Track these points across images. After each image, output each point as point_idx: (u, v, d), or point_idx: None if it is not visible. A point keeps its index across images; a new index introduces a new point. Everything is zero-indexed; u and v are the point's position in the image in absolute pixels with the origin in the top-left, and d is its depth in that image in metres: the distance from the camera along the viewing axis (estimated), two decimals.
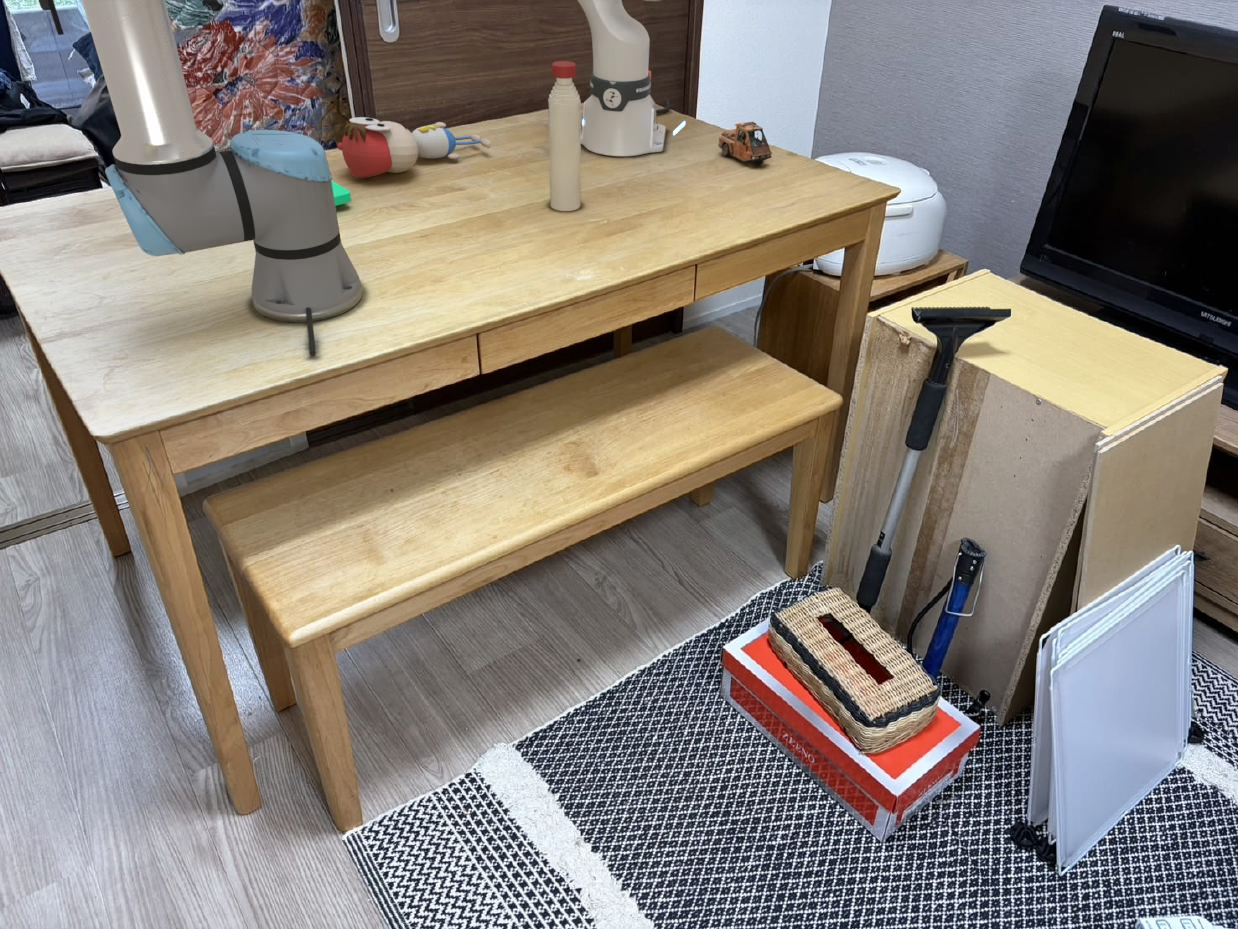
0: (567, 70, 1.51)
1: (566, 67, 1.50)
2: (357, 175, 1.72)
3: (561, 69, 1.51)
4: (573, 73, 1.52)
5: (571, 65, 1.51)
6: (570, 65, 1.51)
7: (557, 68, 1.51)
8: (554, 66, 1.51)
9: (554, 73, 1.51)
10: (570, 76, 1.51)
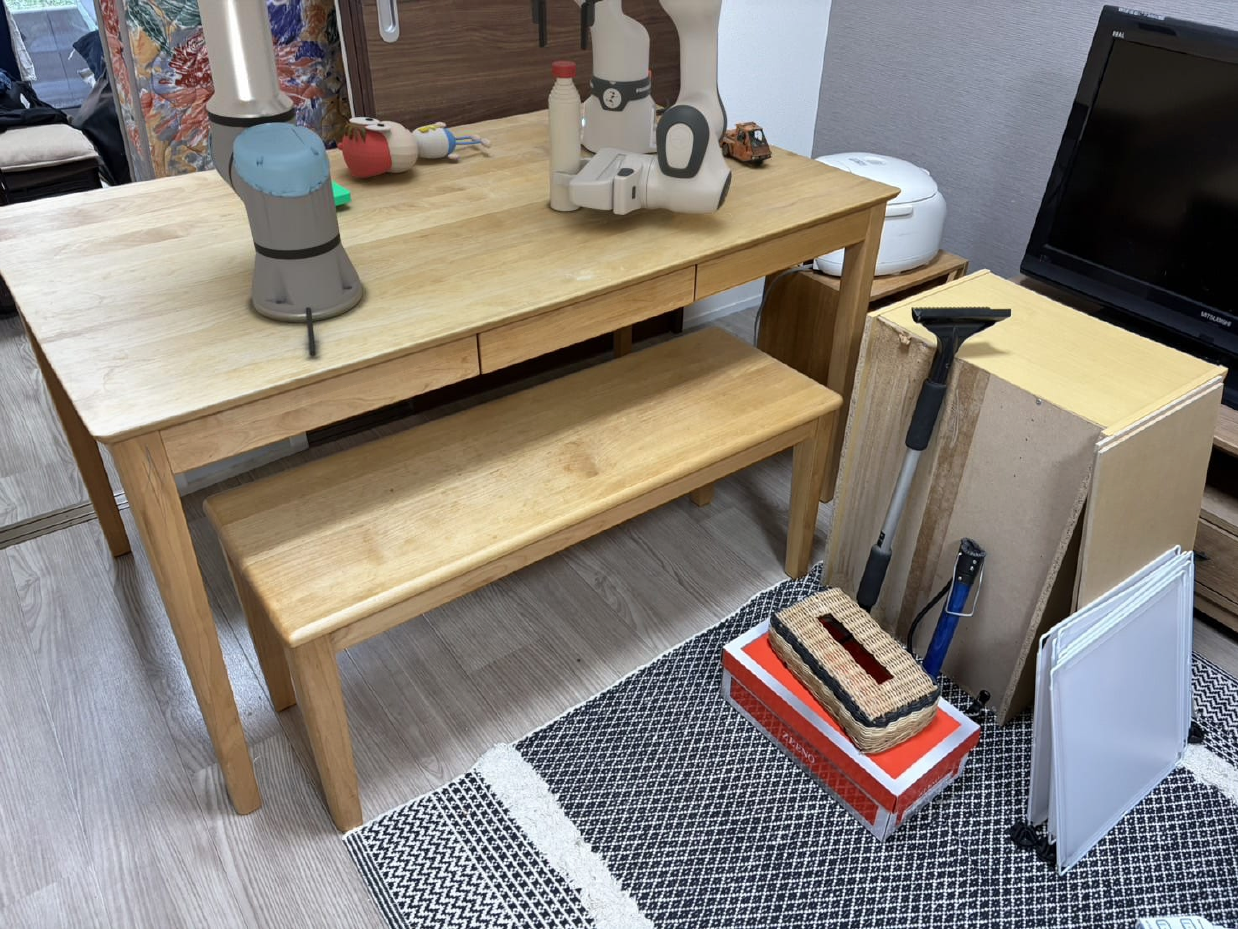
0: (567, 70, 1.51)
1: (566, 67, 1.50)
2: (357, 175, 1.72)
3: (561, 69, 1.51)
4: (573, 73, 1.52)
5: (571, 65, 1.51)
6: (570, 65, 1.51)
7: (557, 68, 1.51)
8: (554, 66, 1.51)
9: (554, 73, 1.51)
10: (570, 76, 1.51)
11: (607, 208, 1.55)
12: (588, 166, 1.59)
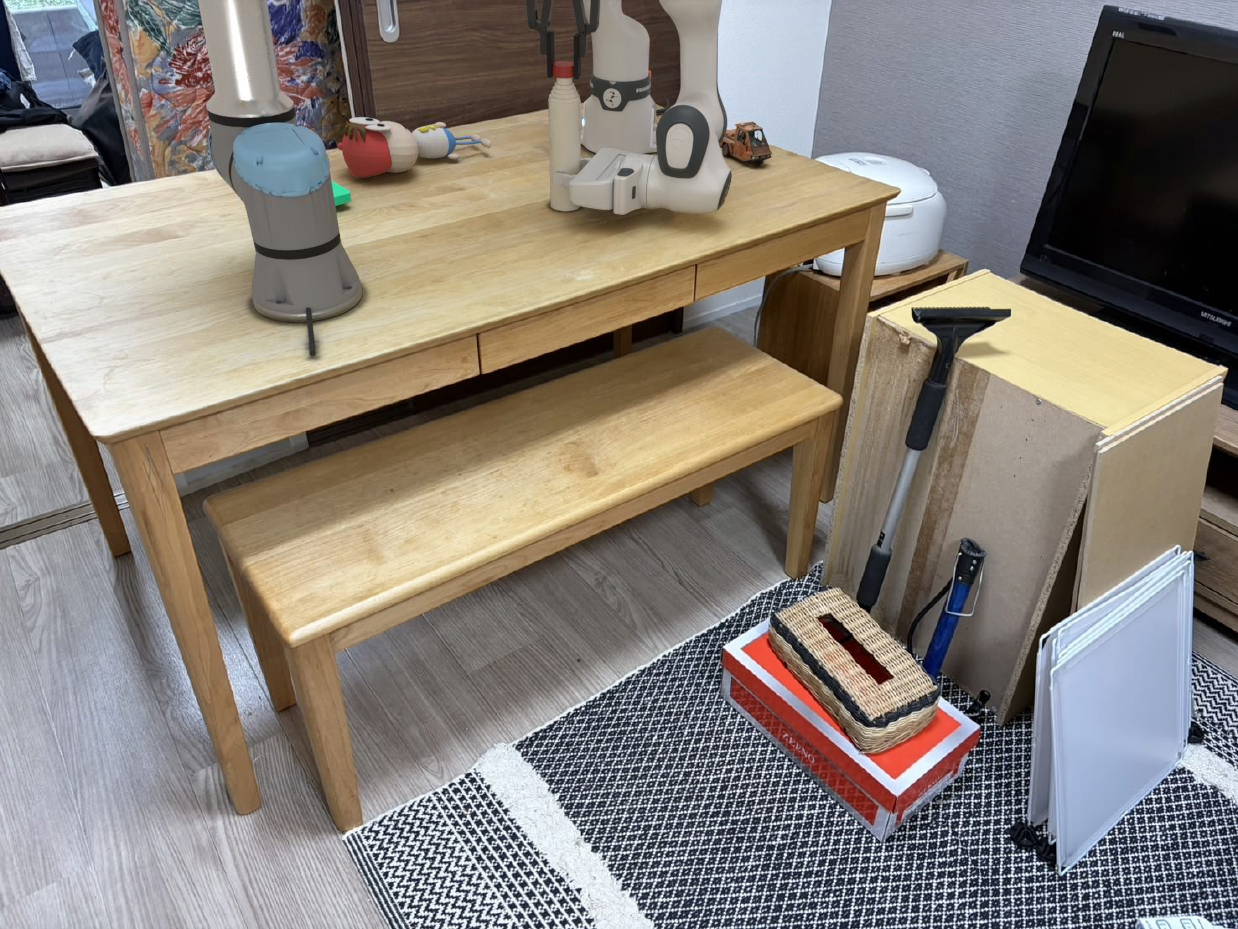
0: (567, 70, 1.51)
1: (566, 67, 1.50)
2: (357, 175, 1.72)
3: (561, 69, 1.51)
4: (573, 73, 1.52)
5: (571, 65, 1.51)
6: (570, 65, 1.51)
7: (557, 68, 1.51)
8: (554, 66, 1.51)
9: (554, 73, 1.51)
10: (570, 76, 1.51)
11: (607, 208, 1.55)
12: (588, 166, 1.59)
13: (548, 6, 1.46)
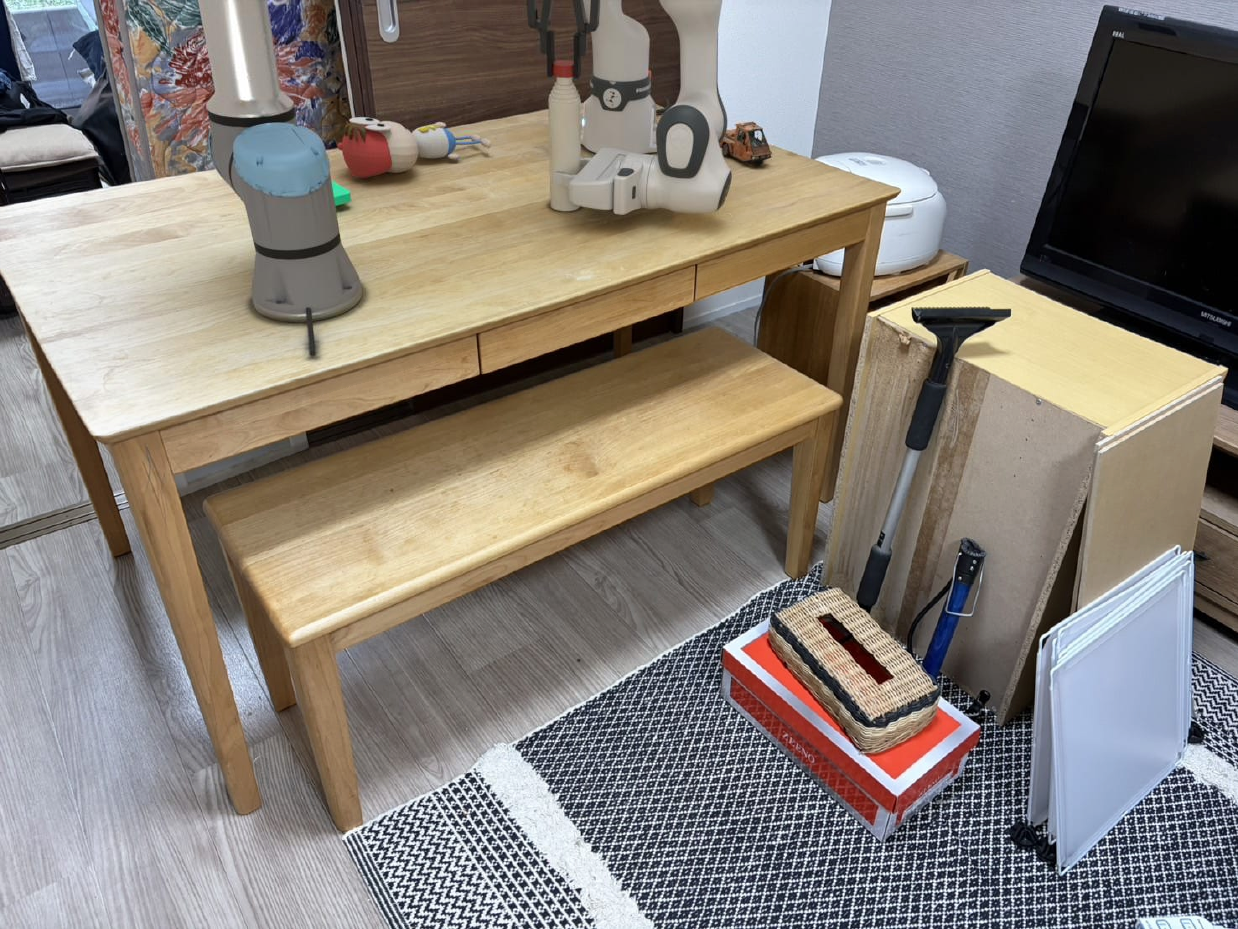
0: None
1: (572, 62, 1.53)
2: (357, 175, 1.72)
3: None
4: None
5: (565, 60, 1.53)
6: (566, 61, 1.53)
7: None
8: None
9: None
10: None
11: (607, 208, 1.55)
12: (588, 166, 1.59)
13: (548, 5, 1.46)
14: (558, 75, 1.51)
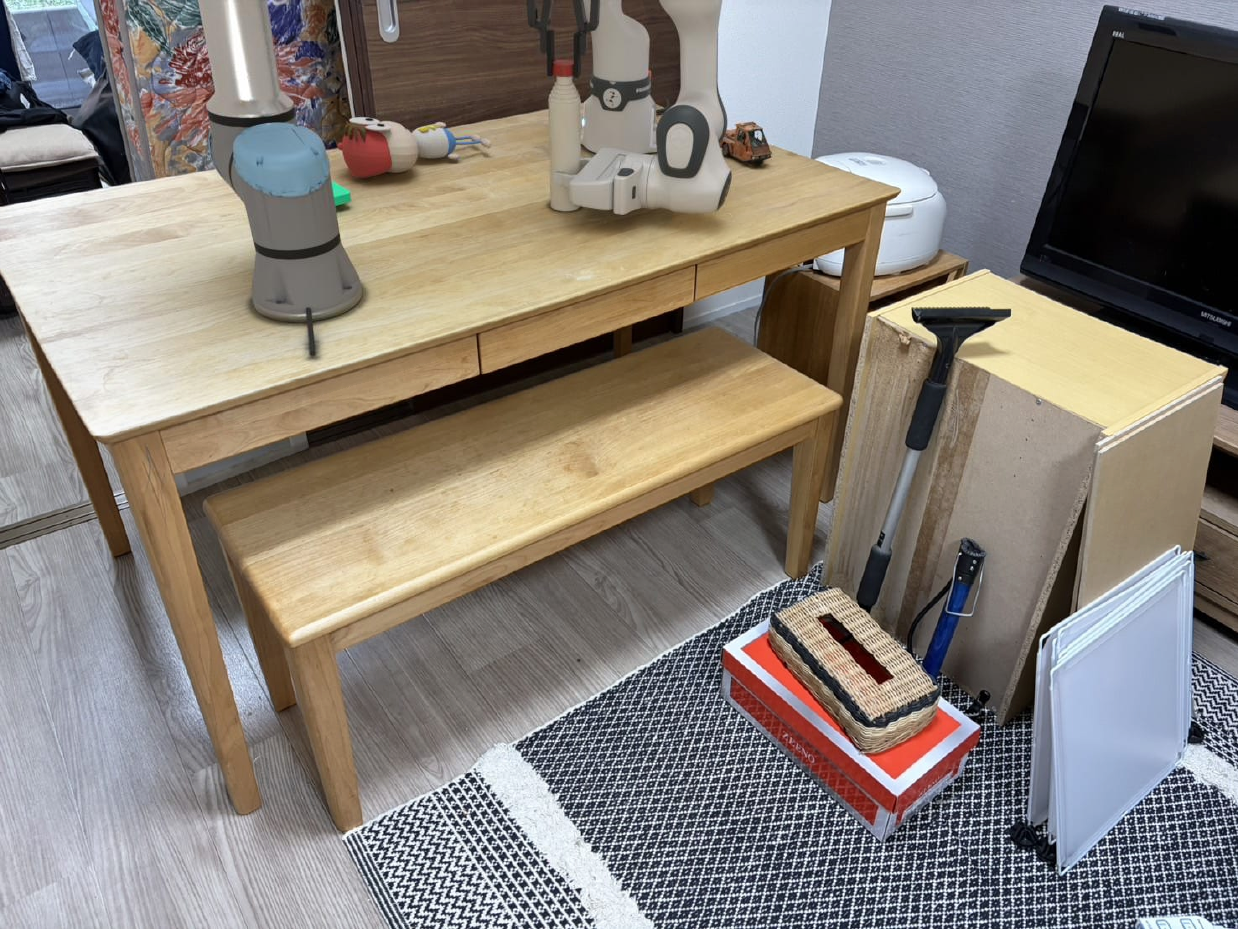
0: None
1: None
2: (357, 175, 1.72)
3: None
4: (553, 71, 1.52)
5: (555, 63, 1.51)
6: (555, 62, 1.51)
7: None
8: None
9: None
10: None
11: (607, 208, 1.55)
12: (588, 166, 1.59)
13: (548, 5, 1.46)
14: None
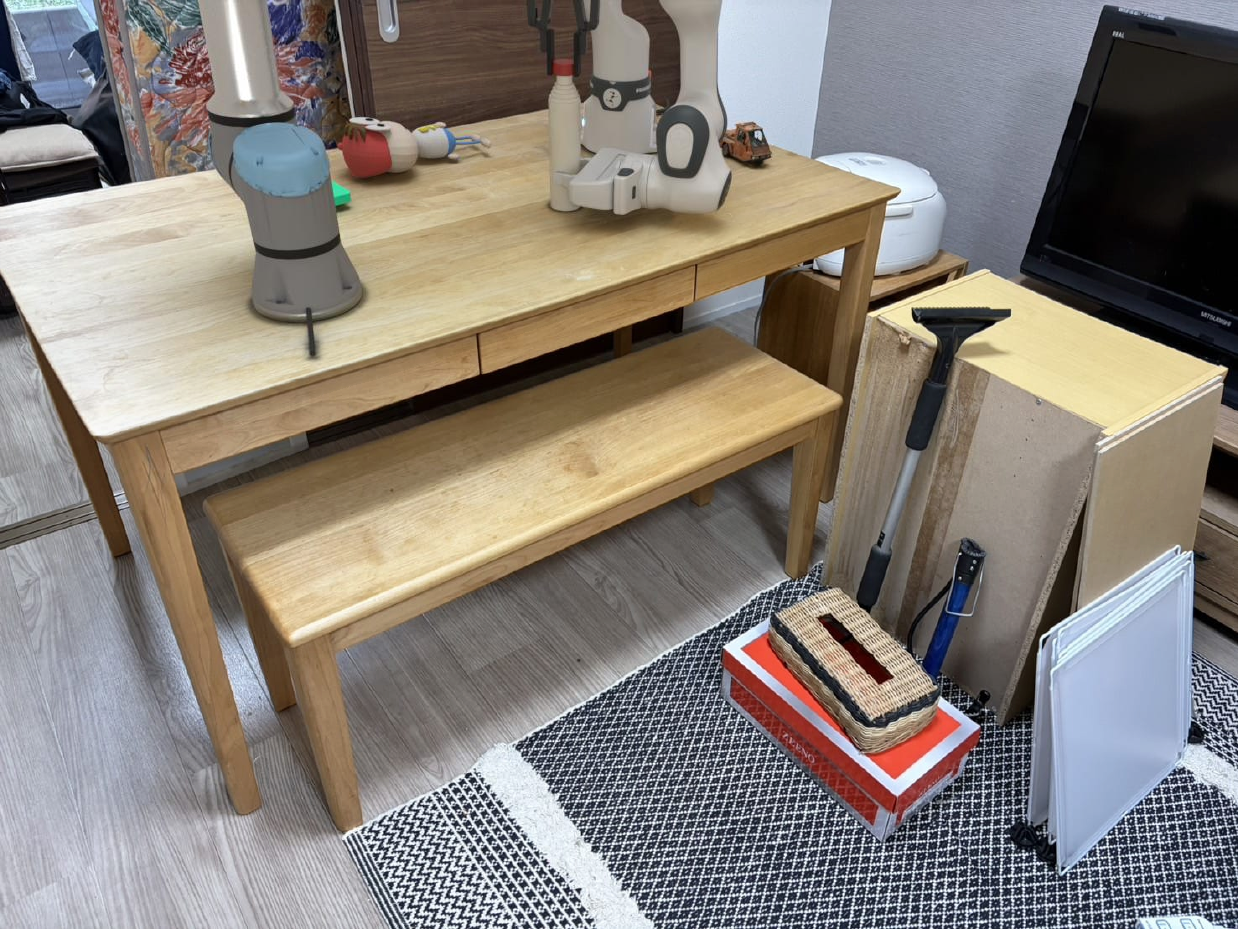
0: (566, 68, 1.50)
1: (565, 65, 1.50)
2: (357, 175, 1.72)
3: (560, 67, 1.50)
4: (572, 71, 1.51)
5: (571, 63, 1.51)
6: (570, 63, 1.51)
7: (556, 66, 1.50)
8: (554, 64, 1.51)
9: (554, 71, 1.51)
10: (569, 74, 1.51)
11: (607, 208, 1.55)
12: (588, 166, 1.59)
13: (548, 4, 1.45)
14: None
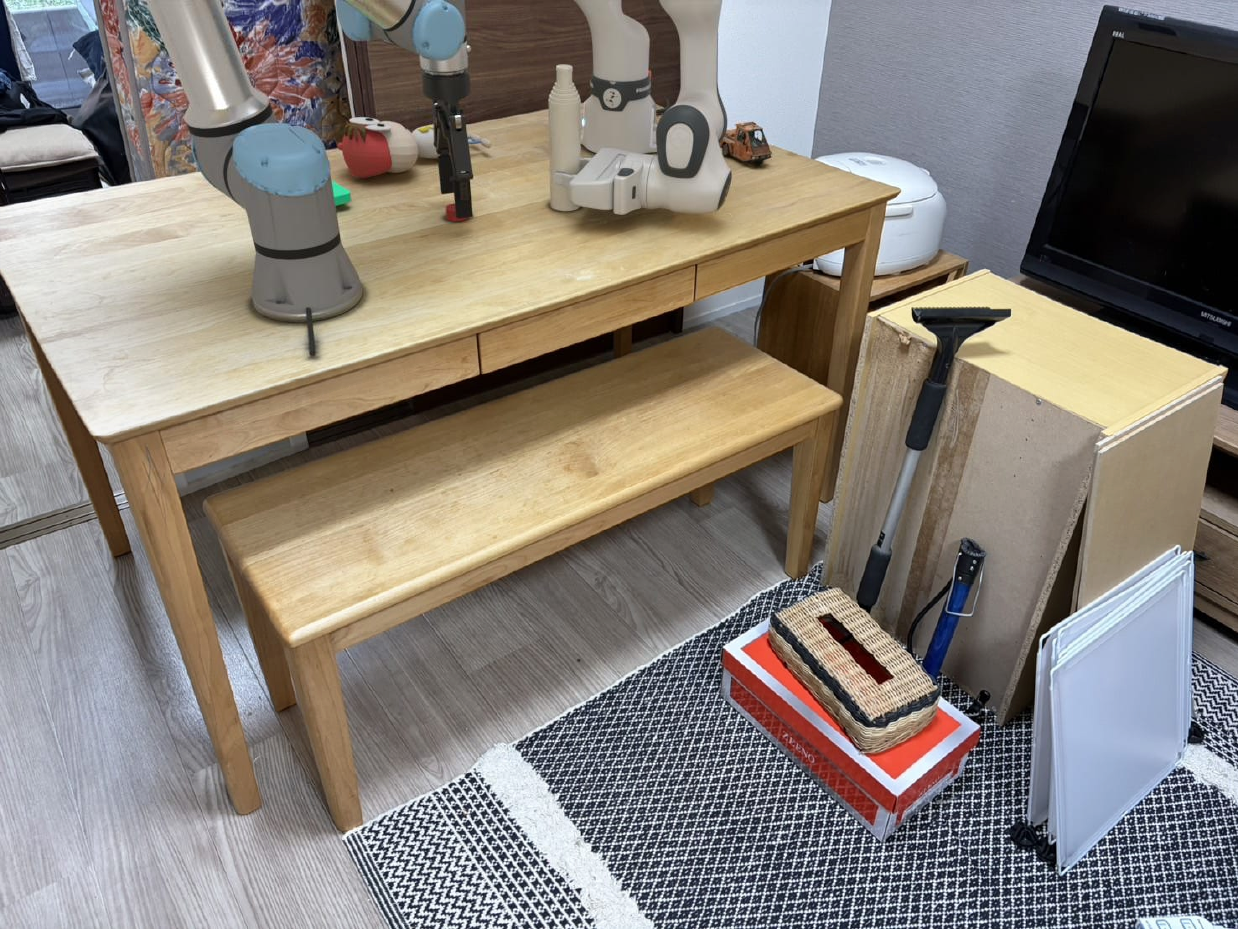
0: None
1: None
2: (357, 175, 1.72)
3: None
4: None
5: None
6: None
7: None
8: None
9: None
10: None
11: (607, 208, 1.55)
12: (588, 166, 1.59)
13: None
14: (450, 219, 1.59)
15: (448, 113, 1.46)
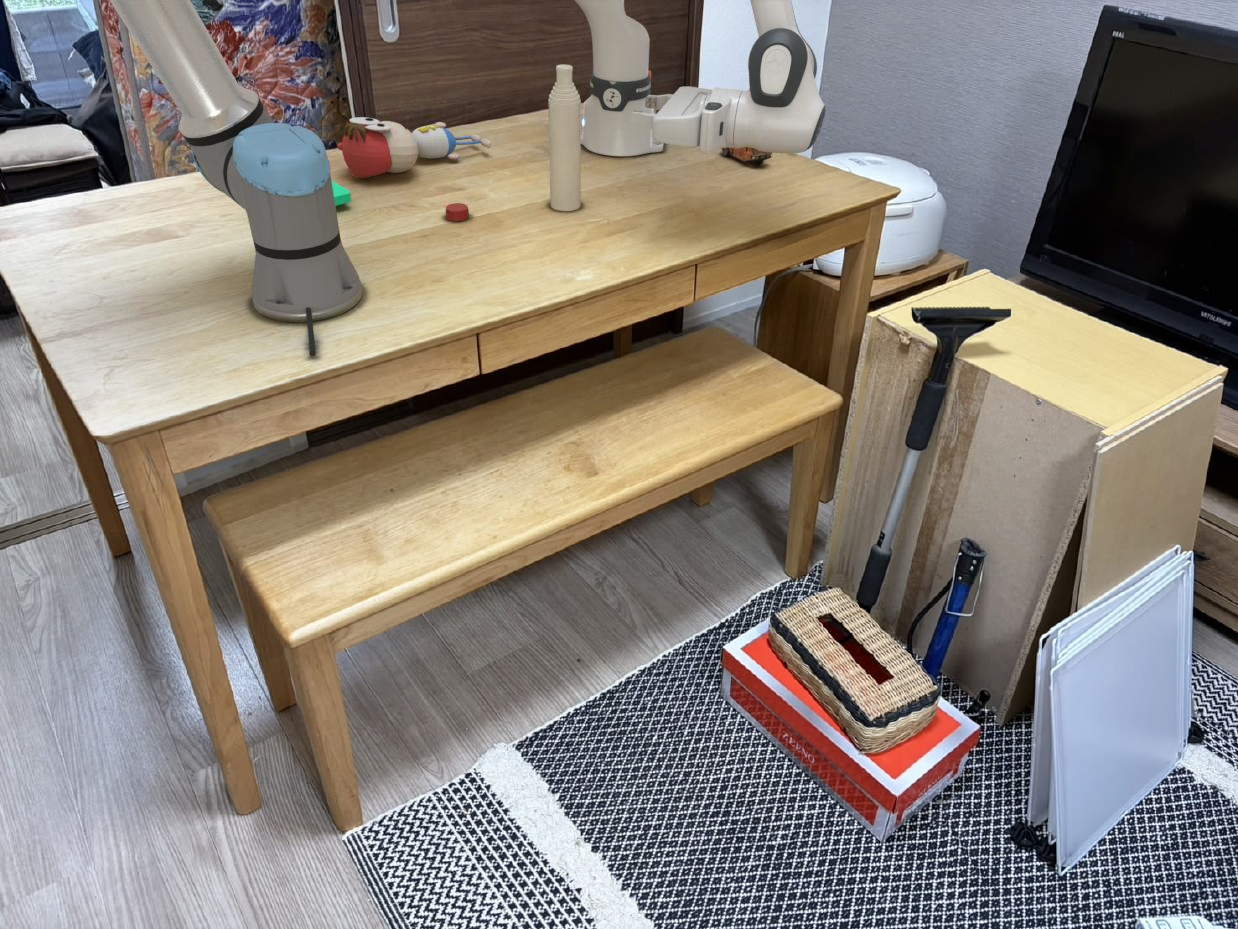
0: None
1: (466, 205, 1.60)
2: (357, 175, 1.72)
3: (467, 209, 1.60)
4: None
5: (459, 204, 1.61)
6: (460, 204, 1.60)
7: (467, 210, 1.59)
8: (465, 210, 1.59)
9: (466, 216, 1.59)
10: None
11: (693, 145, 1.45)
12: (670, 102, 1.49)
13: None
14: (450, 219, 1.59)
15: None
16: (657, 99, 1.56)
